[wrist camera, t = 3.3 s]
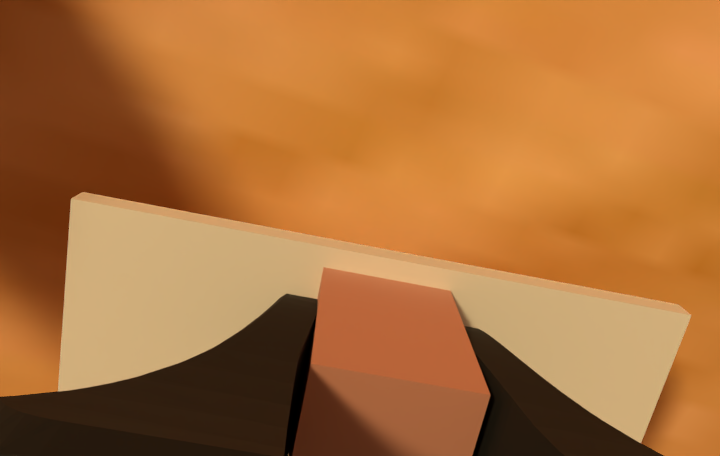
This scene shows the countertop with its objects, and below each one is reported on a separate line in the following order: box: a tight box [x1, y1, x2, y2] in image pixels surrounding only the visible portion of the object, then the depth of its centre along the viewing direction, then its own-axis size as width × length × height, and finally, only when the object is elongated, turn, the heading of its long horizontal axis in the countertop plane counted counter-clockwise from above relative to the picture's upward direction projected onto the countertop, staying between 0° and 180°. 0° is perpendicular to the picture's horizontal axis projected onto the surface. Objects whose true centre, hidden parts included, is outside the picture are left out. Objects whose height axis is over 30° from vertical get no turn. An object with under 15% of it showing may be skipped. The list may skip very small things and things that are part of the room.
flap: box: [58, 192, 691, 456], centre depth 10 cm, size 5×12×4 cm, turn 79°
